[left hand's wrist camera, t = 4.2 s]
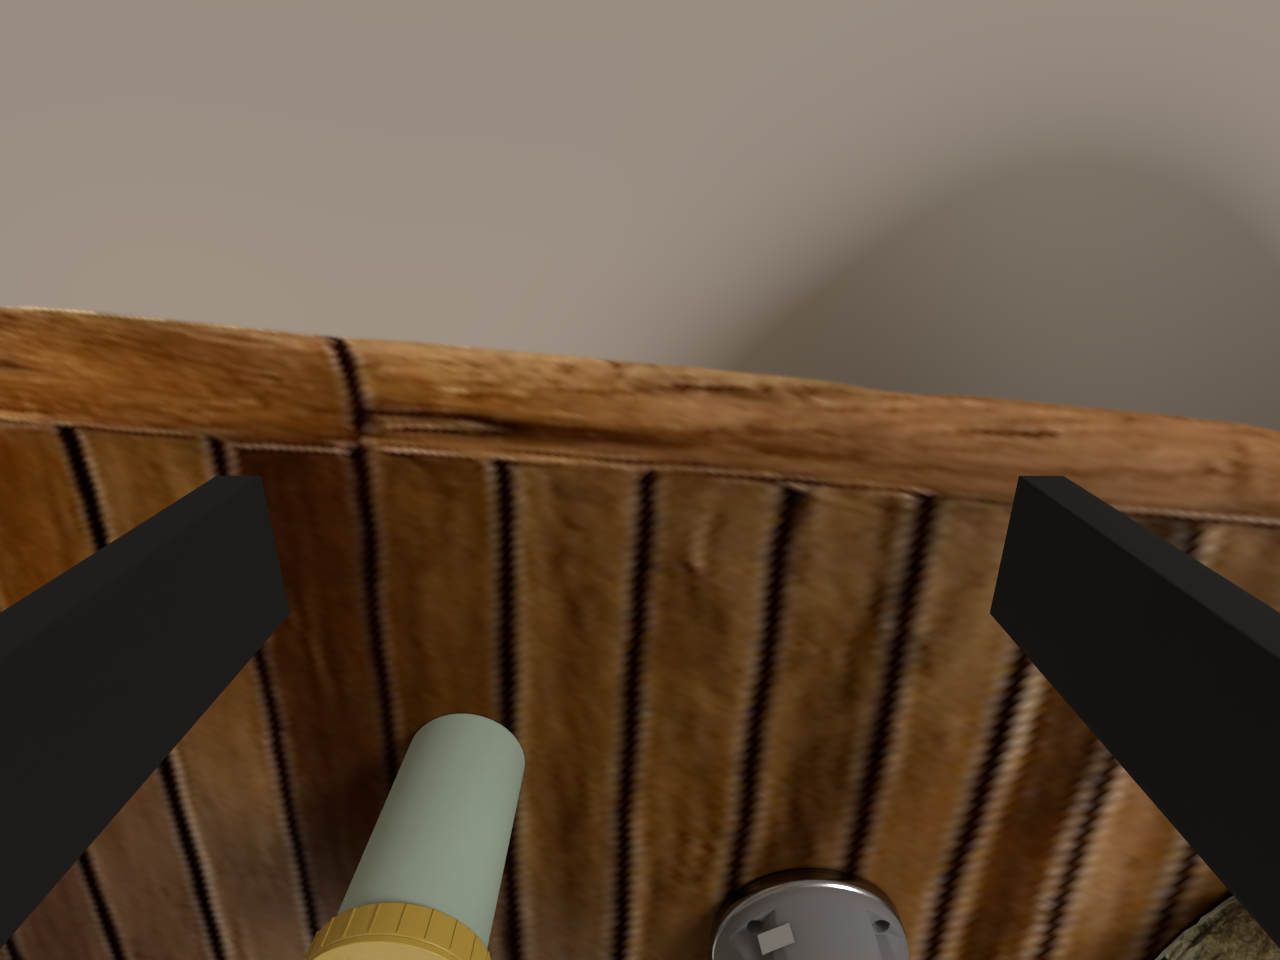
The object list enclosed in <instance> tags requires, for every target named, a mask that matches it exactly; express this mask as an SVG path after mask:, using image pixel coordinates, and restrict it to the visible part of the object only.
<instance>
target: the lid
mask: <svg viewBox="0 0 1280 960" xmlns="http://www.w3.org/2000/svg"><path fill="white" fill-rule="evenodd" d="M489 954H490V953H489V952H488V950H487V949H486V947H485V945H484V943H483V942H482V941H481V940H480V938H479V937H478V936H477V935H476V934H475V933H474V932H473V931H472V930H471V929H470V928H468V927H467V926H466V925H465V924H463V923H462V922H460V921H458V920H457V919H455V918H453V917H451V916H449V915H447V914H445V913H443V912H440V911H438V910H435V909H432V908H429V907H425V906H421V905H416V904H410V903H400V902H381V903H372V904H367V905H362V906H358V907H355V908H352V909H349V910H347V911H345V912H343V913H341V914H339V915H337V916H336V917H333V918H332V919H331V920H330V921H329V922H328V923H327V924H325V925H324V926H323V927H322V929H321V930H320V931H317V933H316V935H315V938H314V940H313V942H312V944H311V947H310V948H309V950H308V952H307V954H306V957H305V959H304V960H491V958H490V955H489Z"/></svg>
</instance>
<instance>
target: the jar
mask: <svg viewBox="0 0 1280 960" xmlns="http://www.w3.org/2000/svg"><path fill="white" fill-rule="evenodd" d="M524 767H525V760H524V754H523V750H522V748H521V746H520V744H519V742H518V741H517V739H516V738H515V737H514V736H513V734H512V733H511V732H510V731H508V730H507V729H506V728H505V727H503V726H502V725H501V724H499V723H497V722H495V721H493V720H491V719H488V718H486V717H482V716H479V715H473V714H450V715H445V716H441V717H439V718H436V719H434V720H432V721H430V722H428V723H427V724H426V725H424V726H423V727H422V728H421V729H420V730H419V731H418V732H417V733H416V734H415V736H414V738H413V739H412V741H411V744H410V746H409V748H408V751H407V753H406V755H405V758H404V760H403V762H402V765H401V767H400V769H399V772H398V774H397V776H396V779H395V781H394V783H393V786H392V788H391V790H390V793H389V795H388V797H387V800H386V802H385V804H384V807H383V809H382V811H381V814H380V816H379V818H378V821H377V823H376V825H375V828H374V830H373V832H372V835H371V837H370V839H369V842H368V844H367V846H366V849H365V851H364V853H363V856H362V858H361V860H360V863H359V865H358V867H357V870H356V872H355V874H354V877H353V879H352V881H351V884H350V886H349V888H348V891H347V893H346V895H345V898H344V900H343V902H342V905H341V907H340V909H339V912H338V914H337V915H339V914H341V913H343V912H345V911H347V910H349V909H352V908H355V907H358V906H362V905H367V904H372V903H381V902H400V903H410V904H416V905H421V906H425V907H429V908H432V909H435V910H438V911H440V912H443V913H445V914H447V915H449V916H451V917H453V918H455V919H457V920H458V921H460V922H462V923H463V924H465V925H466V926H467V927H468V928H470V929H471V930H472V931H473V932H474V933H475V934H476V935H477V936H478V937H479V938H480V940H481V941H482V942H483V943H484V945H485V947H486V949H487V947H488V942H489V938H490V933H491V928H492V923H493V918H494V913H495V908H496V904H497V899H498V894H499V889H500V884H501V879H502V875H503V870H504V865H505V860H506V855H507V850H508V845H509V841H510V836H511V831H512V826H513V821H514V816H515V812H516V807H517V802H518V797H519V792H520V787H521V782H522V778H523V773H524Z"/></svg>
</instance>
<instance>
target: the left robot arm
mask: <svg viewBox="0 0 1280 960" xmlns="http://www.w3.org/2000/svg"><path fill="white" fill-rule="evenodd" d="M289 614H290V610H289V606H288V601H287V596H286V592H285V587H284V582H283V577H282V573H281V568H280V563H279V559H278V554H277V549H276V545H275V540H274V535H273V530H272V526H271V521H270V516H269V512H268V507H267V502H266V498H265V493H264V488H263V483H262V479H261V476H216V477H214V478H213V479H211V480H209V481H208V482H206V483H205V484H203V485H202V486H200V487H198V488H197V489H195V490H194V491H192V492H191V493H189V494H187V495H186V496H184V497H183V498H181V499H179V500H178V501H176V502H175V503H173V504H172V505H170V506H168V507H167V508H165V509H164V510H162V511H160V512H159V513H157V514H156V515H154V516H153V517H151V518H149V519H148V520H146V521H145V522H143V523H142V524H140V525H138V526H137V527H135V528H134V529H132V530H130V531H129V532H127V533H126V534H124V535H123V536H121V537H119V538H118V539H116V540H115V541H113V542H112V543H110V544H108V545H107V546H105V547H104V548H102V549H100V550H99V551H97V552H96V553H94V554H93V555H91V556H89V557H88V558H86V559H85V560H83V561H81V562H80V563H78V564H77V565H75V566H74V567H72V568H70V569H69V570H67V571H66V572H64V573H63V574H61V575H59V576H58V577H56V578H55V579H53V580H51V581H50V582H48V583H47V584H45V585H44V586H42V587H40V588H39V589H37V590H36V591H34V592H33V593H31V594H29V595H28V596H26V597H25V598H23V599H21V600H20V601H18V602H17V603H15V604H14V605H12V606H10V607H9V608H7V609H6V610H4V611H2V612H1V613H0V948H1V947H2V946H3V945H4V944H5V943H6V942H7V940H8V939H9V938H10V937H11V936H12V935H13V933H14V932H15V931H16V930H17V929H18V928H19V926H20V925H21V924H22V923H23V922H24V921H25V920H26V918H27V917H28V916H29V915H30V914H31V913H32V911H33V910H34V909H35V908H36V907H37V906H38V904H39V903H40V902H41V901H42V900H43V899H44V898H45V896H46V895H47V894H48V893H49V892H50V891H51V889H52V888H53V887H54V886H55V885H56V884H57V882H58V881H59V880H60V879H61V878H62V877H63V876H64V874H65V873H66V872H67V871H68V870H69V869H70V867H71V866H72V865H73V864H74V863H75V862H76V860H77V859H78V858H79V857H80V856H81V855H82V854H83V852H84V851H85V850H86V849H87V848H88V847H89V845H90V844H91V843H92V842H93V841H94V840H95V838H96V837H97V836H98V835H99V834H100V833H101V832H102V830H103V829H104V828H105V827H106V826H107V825H108V823H109V822H110V821H111V820H112V819H113V818H114V816H115V815H116V814H117V813H118V812H119V811H120V810H121V808H122V807H123V806H124V805H125V804H126V803H127V801H128V800H129V799H130V798H131V797H132V796H133V794H134V793H135V792H136V791H137V790H138V789H139V788H140V786H141V785H142V784H143V783H144V782H145V781H146V779H147V778H148V777H149V776H150V775H151V774H152V772H153V771H154V770H155V769H156V768H157V767H158V766H159V764H160V763H161V762H162V761H163V760H164V759H165V757H166V756H167V755H168V754H169V753H170V752H171V750H172V749H173V748H174V747H175V746H176V745H177V744H178V742H179V741H180V740H181V739H182V738H183V737H184V735H185V734H186V733H187V732H188V731H189V730H190V728H191V727H192V726H193V725H194V724H195V723H196V722H197V720H198V719H199V718H200V717H201V716H202V715H203V713H204V712H205V711H206V710H207V709H208V708H209V706H210V705H211V704H212V703H213V702H214V701H215V700H216V698H217V697H218V696H219V695H220V694H221V693H222V691H223V690H224V689H225V688H226V687H227V686H228V684H229V683H230V682H231V681H232V680H233V679H234V678H235V676H236V675H237V674H238V673H239V672H240V671H241V669H242V668H243V667H244V666H245V665H246V664H247V662H248V661H249V660H250V659H251V658H252V657H253V656H254V654H255V653H256V652H257V651H258V650H259V649H260V647H261V646H262V645H263V644H264V643H265V642H266V640H267V639H268V638H269V637H270V636H271V635H272V634H273V632H274V631H275V630H276V629H277V628H278V627H279V625H280V624H281V623H282V622H283V621H284V620H285V618H286V617H287V616H288V615H289ZM990 614H991V615H992V616H993V617H994V618H995V620H996V621H997V622H998V623H999V624H1000V625H1001V627H1002V628H1003V629H1004V630H1005V631H1006V632H1007V634H1008V635H1009V636H1010V637H1011V638H1012V639H1013V640H1014V642H1015V643H1016V644H1017V645H1018V646H1019V647H1020V649H1021V650H1022V651H1023V652H1024V653H1025V654H1026V656H1027V657H1028V658H1029V659H1030V660H1031V661H1032V662H1033V664H1034V665H1035V666H1036V667H1037V668H1038V669H1039V671H1040V672H1041V673H1042V674H1043V675H1044V676H1045V678H1046V679H1047V680H1048V681H1049V682H1050V683H1051V684H1052V686H1053V687H1054V688H1055V689H1056V690H1057V691H1058V693H1059V694H1060V695H1061V696H1062V697H1063V698H1064V700H1065V701H1066V702H1067V703H1068V704H1069V705H1070V706H1071V708H1072V709H1073V710H1074V711H1075V712H1076V713H1077V715H1078V716H1079V717H1080V718H1081V719H1082V720H1083V722H1084V723H1085V724H1086V725H1087V726H1088V727H1089V728H1090V730H1091V731H1092V732H1093V733H1094V734H1095V735H1096V737H1097V738H1098V739H1099V740H1100V741H1101V742H1102V744H1103V745H1104V746H1105V747H1106V748H1107V749H1108V750H1109V752H1110V753H1111V754H1112V755H1113V756H1114V757H1115V759H1116V760H1117V761H1118V762H1119V763H1120V764H1121V766H1122V767H1123V768H1124V769H1125V770H1126V771H1127V772H1128V774H1129V775H1130V776H1131V777H1132V778H1133V779H1134V781H1135V782H1136V783H1137V784H1138V785H1139V786H1140V788H1141V789H1142V790H1143V791H1144V792H1145V793H1146V794H1147V796H1148V797H1149V798H1150V799H1151V800H1152V801H1153V803H1154V804H1155V805H1156V806H1157V807H1158V808H1159V810H1160V811H1161V812H1162V813H1163V814H1164V815H1165V816H1166V818H1167V819H1168V820H1169V821H1170V822H1171V823H1172V825H1173V826H1174V827H1175V828H1176V829H1177V830H1178V832H1179V833H1180V834H1181V835H1182V836H1183V837H1184V838H1185V840H1186V841H1187V842H1188V843H1189V844H1190V845H1191V847H1192V848H1193V849H1194V850H1195V851H1196V852H1197V854H1198V855H1199V856H1200V857H1201V858H1202V859H1203V860H1204V862H1205V863H1206V864H1207V865H1208V866H1209V867H1210V869H1211V870H1212V871H1213V872H1214V873H1215V874H1216V876H1217V877H1218V878H1219V879H1220V880H1221V881H1222V882H1223V884H1224V885H1225V886H1226V887H1227V888H1228V889H1229V891H1230V892H1231V893H1232V894H1233V895H1234V896H1235V898H1236V899H1237V900H1238V901H1239V902H1240V903H1241V904H1242V906H1243V907H1244V908H1245V909H1246V910H1247V911H1248V913H1249V914H1250V915H1251V916H1252V917H1253V918H1254V920H1255V921H1256V922H1257V923H1258V924H1259V925H1260V926H1261V928H1262V929H1263V930H1264V931H1265V932H1266V933H1267V935H1268V936H1269V937H1270V938H1271V939H1272V940H1273V942H1274V943H1275V944H1276V945H1277V946H1278V947H1279V948H1280V613H1279V612H1278V611H1276V610H1274V609H1273V608H1271V607H1270V606H1268V605H1266V604H1265V603H1263V602H1262V601H1260V600H1259V599H1257V598H1255V597H1254V596H1252V595H1251V594H1249V593H1247V592H1246V591H1244V590H1243V589H1241V588H1240V587H1238V586H1236V585H1235V584H1233V583H1232V582H1230V581H1229V580H1227V579H1225V578H1224V577H1222V576H1221V575H1219V574H1217V573H1216V572H1214V571H1213V570H1211V569H1210V568H1208V567H1206V566H1205V565H1203V564H1202V563H1200V562H1199V561H1197V560H1195V559H1194V558H1192V557H1191V556H1189V555H1187V554H1186V553H1184V552H1183V551H1181V550H1180V549H1178V548H1176V547H1175V546H1173V545H1172V544H1170V543H1168V542H1167V541H1165V540H1164V539H1162V538H1161V537H1159V536H1157V535H1156V534H1154V533H1153V532H1151V531H1150V530H1148V529H1146V528H1145V527H1143V526H1142V525H1140V524H1138V523H1137V522H1135V521H1134V520H1132V519H1131V518H1129V517H1127V516H1126V515H1124V514H1123V513H1121V512H1120V511H1118V510H1116V509H1115V508H1113V507H1112V506H1110V505H1108V504H1107V503H1105V502H1104V501H1102V500H1101V499H1099V498H1097V497H1096V496H1094V495H1093V494H1091V493H1089V492H1088V491H1086V490H1085V489H1083V488H1082V487H1080V486H1078V485H1077V484H1075V483H1074V482H1072V481H1071V480H1069V479H1067V478H1066V477H1064V476H1019V479H1018V483H1017V488H1016V493H1015V498H1014V502H1013V507H1012V512H1011V516H1010V521H1009V526H1008V530H1007V535H1006V540H1005V545H1004V549H1003V554H1002V559H1001V563H1000V568H999V573H998V577H997V582H996V587H995V592H994V596H993V601H992V606H991V610H990ZM711 950H712V960H909V953H908V946H907V939H906V934H905V931H904V928H903V925H902V923H901V920H900V917H899V915H898V912H897V910H896V908H895V906H894V904H893V903H892V901H891V900H890V898H889V897H888V896H887V895H886V894H885V893H884V892H883V891H882V890H881V889H879V888H878V887H877V886H875V885H874V884H872V883H870V882H869V881H867V880H865V879H863V878H860V877H858V876H855V875H852V874H849V873H845V872H841V871H836V870H829V869H799V870H791V871H786V872H781V873H778V874H774V875H771V876H768V877H765V878H763V879H760V880H758V881H756V882H754V883H752V884H750V885H748V886H747V887H745V888H744V889H742V890H741V891H739V892H738V893H737V894H735V895H734V896H733V897H732V898H731V899H730V900H729V901H728V902H727V903H726V904H725V905H724V906H723V908H722V909H721V910H720V912H719V914H718V915H717V917H716V919H715V922H714V924H713V928H712V932H711Z"/></svg>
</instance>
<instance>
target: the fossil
mask: <svg viewBox="0 0 1280 960" xmlns="http://www.w3.org/2000/svg"><path fill="white" fill-rule="evenodd" d="M1155 960H1280V948H1279V947H1278V946H1277V945H1276V944H1275V943H1274V942H1273V940H1272V939H1271V938H1270V937H1269V936H1268V935H1267V933H1266V932H1265V931H1264V930H1263V929H1262V928H1261V926H1260V925H1259V924H1258V923H1257V922H1256V921H1255V920H1254V918H1253V917H1252V916H1251V915H1250V914H1249V913H1248V911H1247V910H1246V909H1245V908H1244V907H1243V906H1242V904H1241V903H1240V902H1239V901H1238V900H1237V899H1236V898H1235V896H1234V895H1233V896H1232V897H1230V898H1228V899H1227V900H1225V901H1224V902H1222V903H1221V904H1220V905H1218V906H1217V907H1216V908H1215V909H1213V910H1212V911H1211V912H1209V913H1208V914H1206V915H1204V916H1203V917H1201V919H1200V920H1199V922H1198V923H1197V924H1196V925H1194V926H1192V927H1190V928H1189V929H1187V930H1185V931H1184V932H1183V933H1182V934H1181V935H1180V936H1179V937H1178V938H1176V939H1175V940H1174V941H1173V942H1172V943H1171V944H1170V945H1169V946H1168V947H1167V948H1166V949H1165V950H1164V951H1163V952H1162V953H1161V954H1160V955H1159V956H1158V957H1157V958H1156V959H1155Z"/></svg>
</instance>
